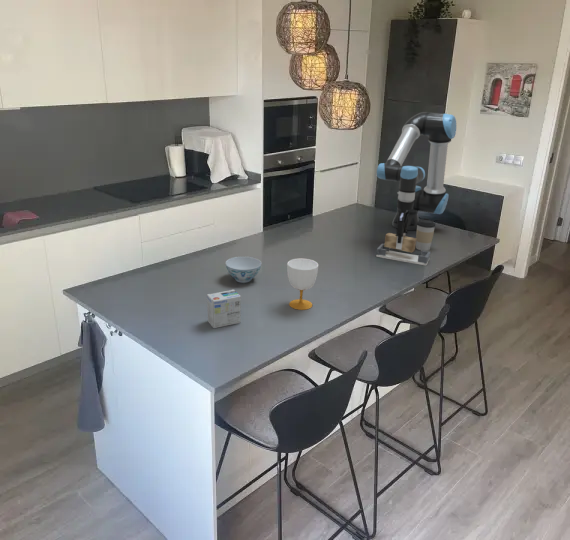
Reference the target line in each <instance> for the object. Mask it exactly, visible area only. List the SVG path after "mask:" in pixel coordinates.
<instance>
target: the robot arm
mask: <svg viewBox="0 0 570 540" xmlns="http://www.w3.org/2000/svg"><path fill="white" fill-rule="evenodd" d="M456 134H457V119H456V117H455V115H454V114H450V113H446V112H445V113H442V112H428V111H422V112H419V113H417V114H414V115H413V116H412V117H410V118H408V120H407V121H406V122H405V123H404V125H403V126H402V129H401V134H400V136H399V138H398V139H397V141H396V143H395V145H394V147H393V149H392V151H391V153H390V155H389V157H388V158H387V160H386V162H385V163H384V162H383V163H382V162H381V163H379V164H378V165H377V167H376V177H377V178H378V179H380V180H384V181H393V182H398V184H399V185H398V191H397V192H396V193H397V195H398V196H397V202H396V208H397V209H396V214H395V216H394V217H393V220H392V222H391V223H392V225H391V226H392V227H393V228H395V229H396V233H395V234H396V236H397V242H396V249H395V250H397V249H399V250H398V251H402V243H403V236H407V235H406V234H408V231H415V230H416V231H417V222H418V221H420V219H419V214H418V213H419V212H424V213H430V214H434V215H436V214H437V215H442V214H443V213H444V211H445V210H446V207H447V205H448V200H449V195H450V194H449V193H446V191H447V190H446V188H445V186H444V185H445V184H444V182H445V175H446V174H445V172H446V164H447V156H448V153H447V152H448V147H449V146H448V145H449V144H450V142H452V140H453V139H454V138H455V137H456ZM420 136H424V137H427V139H428V140H427V141H428V142H429V144H430V147H429V159H428V168H427V169H428V171H427V181H426V186H424V188H423V189H422V186H419V185H418V184H419V183H421V182H423V180H424V179H425V177H426V172H425V169H424V168H423V167H421V166H414V165H404V166H403V163H404V162H405V160H406V158H407V156H408V154H409V152H410V151H411V148H412V147H413V145H414V143H415V142H416V140H418V139H419V137H420Z"/></svg>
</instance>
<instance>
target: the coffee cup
mask: <svg viewBox="0 0 570 540" xmlns="http://www.w3.org/2000/svg"><path fill="white" fill-rule="evenodd" d="M435 227H436V222H434V220H432V219H429V218H427V217H425V218H423V219H419V221H418V222H417V230H416V234H415V235H416V236H415V238H416V246H415V250H418V251H427V252H428V251H431V246H432V242H433V238H434V233H435Z"/></svg>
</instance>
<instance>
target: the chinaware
mask: <svg viewBox="0 0 570 540" xmlns="http://www.w3.org/2000/svg"><path fill="white" fill-rule="evenodd" d="M261 267H262V261H261V260H260V259H258V258H255V257H252V256H234V257H230V258H228V259H227V260H226V261H225V268H226V271H227V273H228V275H230V276H231V277H232V278H233V279H235V281H236V282H238V283H240V284H241V283H243V284H245V283H249V282H251V281H252V279H254V278H255V277H256V276H257V275H258V273H259V272H260V271H261Z"/></svg>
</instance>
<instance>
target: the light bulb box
mask: <svg viewBox="0 0 570 540" xmlns="http://www.w3.org/2000/svg"><path fill="white" fill-rule="evenodd" d="M241 299H242V295H240V294H239V293H238V292H237V291H236V290H235V289H228V290H224V291H220V292H219V291H218V292H214V293H208V294H206V307H207V322H208V323H209V324H210V326H211V327H212V328H213V329H217V328H221V327H222V328H223V327H226V326H232V325H236V324H241V323H242V317H241V316H242V313H241V312H242V310H241V309H242V305H241V302H242V300H241Z"/></svg>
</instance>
